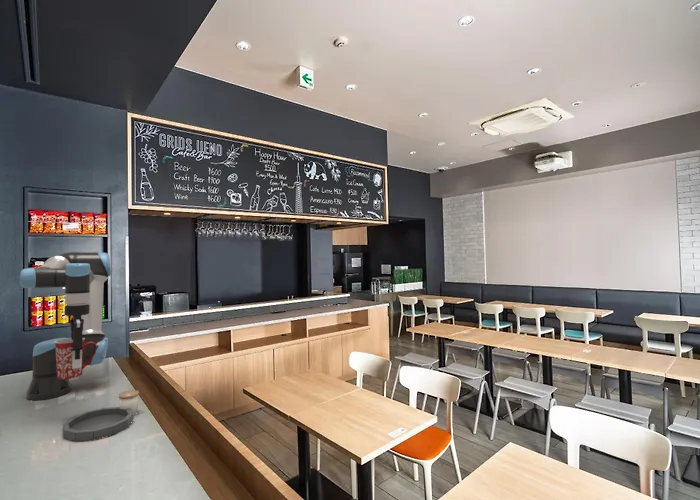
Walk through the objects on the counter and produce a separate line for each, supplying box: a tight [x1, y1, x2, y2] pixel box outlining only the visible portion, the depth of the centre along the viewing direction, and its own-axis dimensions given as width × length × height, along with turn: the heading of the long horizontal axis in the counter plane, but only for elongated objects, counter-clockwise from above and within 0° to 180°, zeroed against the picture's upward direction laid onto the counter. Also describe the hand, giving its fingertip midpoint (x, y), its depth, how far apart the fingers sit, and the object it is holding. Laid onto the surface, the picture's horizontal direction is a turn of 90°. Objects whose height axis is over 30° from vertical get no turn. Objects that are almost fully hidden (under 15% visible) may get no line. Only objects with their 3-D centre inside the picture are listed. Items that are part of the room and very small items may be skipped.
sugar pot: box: [118, 389, 140, 415], centre depth 139 cm, size 7×7×8 cm
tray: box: [62, 406, 134, 443], centre depth 128 cm, size 20×20×3 cm
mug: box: [55, 337, 97, 380], centre depth 136 cm, size 13×9×14 cm
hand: (75, 365), depth 136 cm, fingers closed on mug, 8 cm apart
